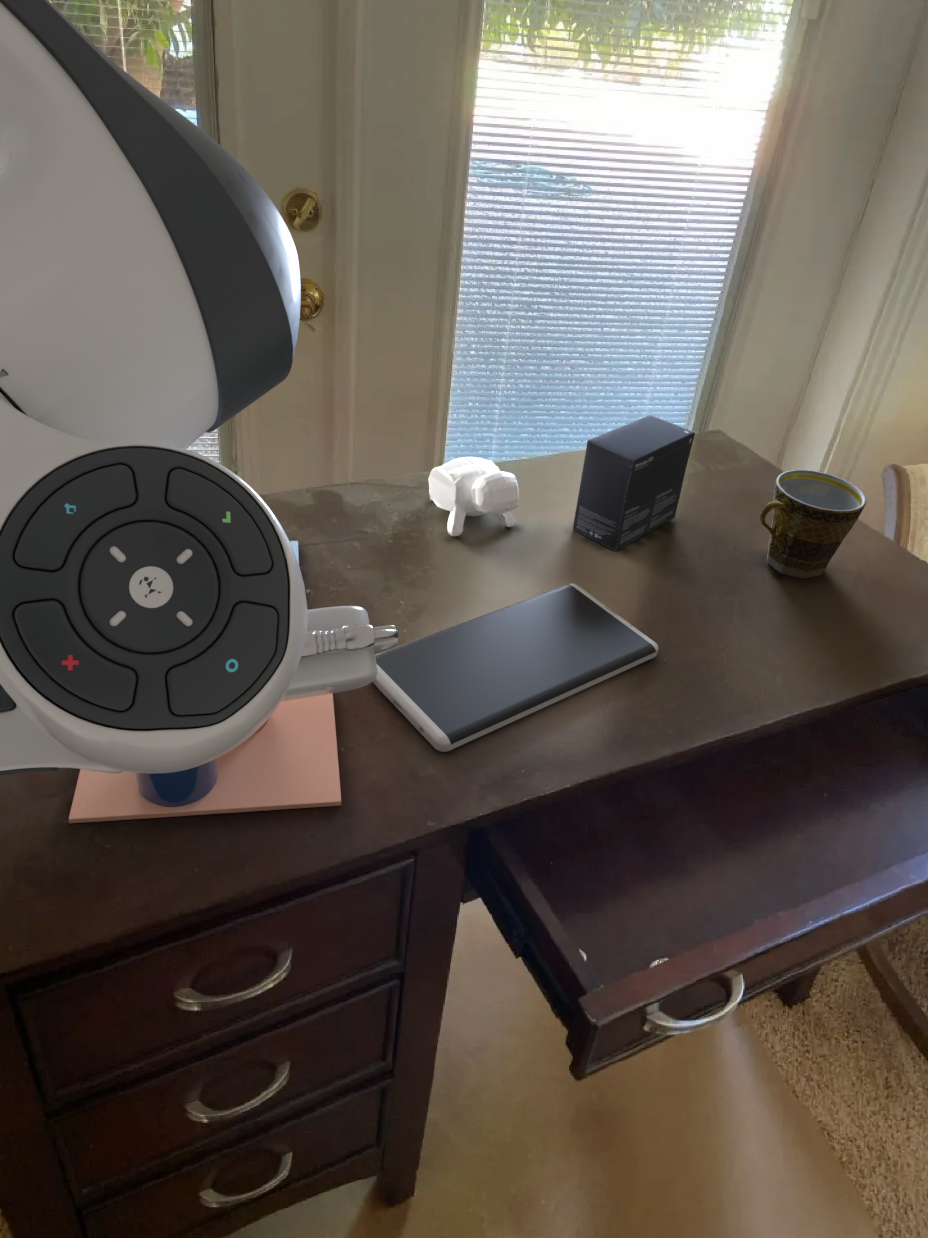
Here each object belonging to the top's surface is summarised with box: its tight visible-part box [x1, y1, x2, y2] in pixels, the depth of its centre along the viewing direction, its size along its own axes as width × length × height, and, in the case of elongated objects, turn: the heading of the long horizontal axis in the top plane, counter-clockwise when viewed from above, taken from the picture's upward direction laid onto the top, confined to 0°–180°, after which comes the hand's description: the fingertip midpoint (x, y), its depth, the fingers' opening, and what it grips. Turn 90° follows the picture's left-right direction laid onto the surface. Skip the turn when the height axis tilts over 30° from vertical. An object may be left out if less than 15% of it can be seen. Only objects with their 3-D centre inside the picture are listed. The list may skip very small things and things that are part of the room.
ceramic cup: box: [759, 469, 867, 580], centre depth 103 cm, size 13×10×10 cm
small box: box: [572, 414, 696, 552], centre depth 107 cm, size 13×7×12 cm, turn 136°
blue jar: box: [136, 759, 218, 807], centre depth 67 cm, size 6×6×10 cm
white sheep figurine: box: [427, 456, 520, 537], centre depth 105 cm, size 8×8×15 cm
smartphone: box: [371, 583, 659, 753], centre depth 85 cm, size 13×27×2 cm, turn 127°
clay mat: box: [68, 693, 342, 824], centre depth 73 cm, size 20×14×1 cm
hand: (168, 692), depth 49 cm, fingers open, 8 cm apart
